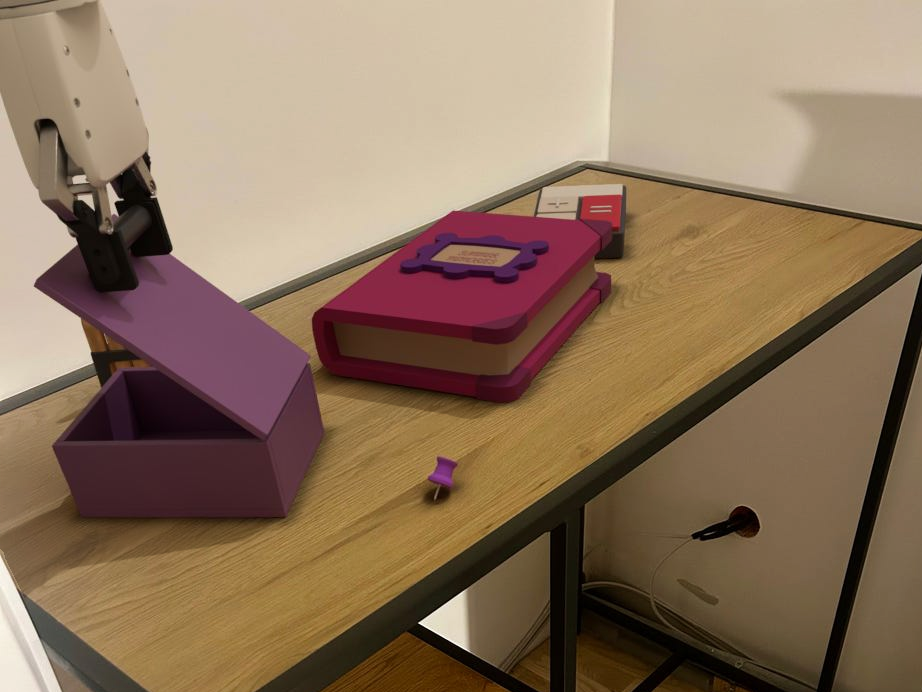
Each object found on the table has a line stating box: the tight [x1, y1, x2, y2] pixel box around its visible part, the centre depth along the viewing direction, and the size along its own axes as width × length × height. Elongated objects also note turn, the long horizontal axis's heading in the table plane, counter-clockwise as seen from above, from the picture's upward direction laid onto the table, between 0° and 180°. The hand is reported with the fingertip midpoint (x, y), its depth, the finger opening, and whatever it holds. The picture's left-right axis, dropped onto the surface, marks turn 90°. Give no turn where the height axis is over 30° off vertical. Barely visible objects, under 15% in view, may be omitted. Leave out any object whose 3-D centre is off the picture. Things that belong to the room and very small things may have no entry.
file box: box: [51, 362, 326, 519], centre depth 80 cm, size 17×13×7 cm
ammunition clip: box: [80, 318, 153, 389], centre depth 90 cm, size 11×2×12 cm, turn 93°
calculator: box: [533, 183, 627, 260], centre depth 116 cm, size 11×4×15 cm
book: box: [311, 210, 612, 403], centre depth 97 cm, size 21×28×8 cm
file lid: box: [33, 205, 312, 441], centre depth 72 cm, size 18×13×5 cm
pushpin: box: [427, 456, 459, 501], centre depth 76 cm, size 2×3×3 cm
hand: (135, 269), depth 70 cm, fingers closed on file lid, 6 cm apart
